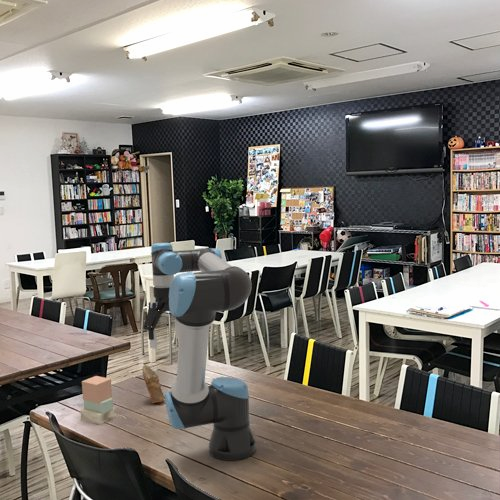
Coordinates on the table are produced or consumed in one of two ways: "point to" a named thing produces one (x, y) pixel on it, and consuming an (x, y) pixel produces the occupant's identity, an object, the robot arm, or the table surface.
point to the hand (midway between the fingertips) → (166, 343)
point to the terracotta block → (96, 389)
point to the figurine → (153, 384)
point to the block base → (97, 416)
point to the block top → (99, 406)
